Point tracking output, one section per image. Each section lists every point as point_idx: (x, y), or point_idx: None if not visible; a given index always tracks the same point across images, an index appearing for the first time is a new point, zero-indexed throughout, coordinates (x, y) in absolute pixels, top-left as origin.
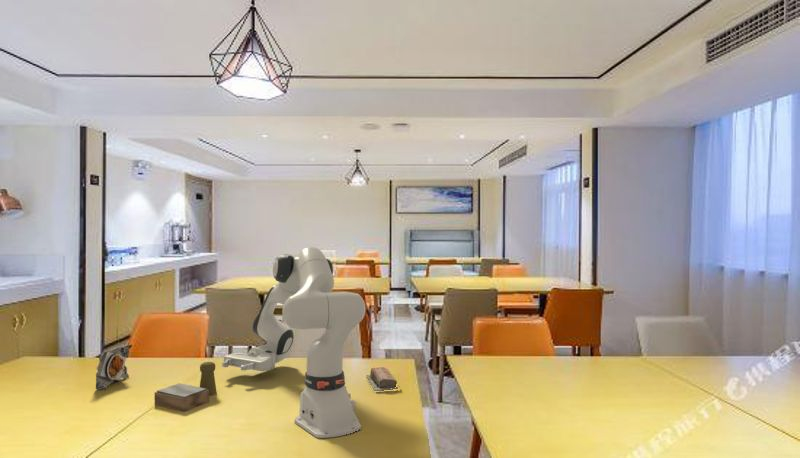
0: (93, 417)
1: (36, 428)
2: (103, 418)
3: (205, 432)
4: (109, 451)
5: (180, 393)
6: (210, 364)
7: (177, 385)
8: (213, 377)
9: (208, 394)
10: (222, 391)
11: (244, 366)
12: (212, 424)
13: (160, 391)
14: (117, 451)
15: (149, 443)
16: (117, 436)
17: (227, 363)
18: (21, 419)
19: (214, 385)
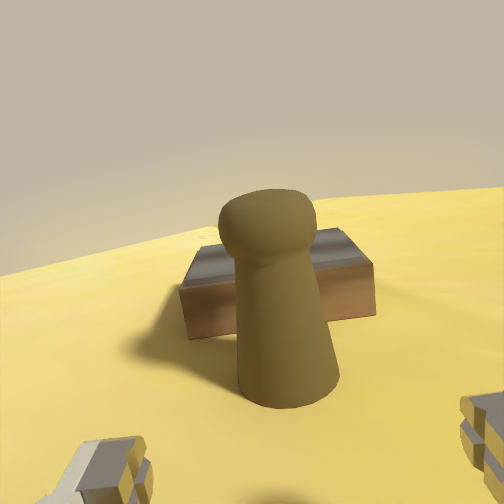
0: (371, 224)
1: (389, 202)
2: (346, 229)
3: (63, 283)
4: (192, 230)
5: None
6: (228, 202)
7: (336, 250)
8: (236, 294)
9: (183, 308)
10: (233, 427)
11: (81, 448)
12: (65, 297)
13: (320, 230)
14: (180, 233)
15: (151, 247)
16: None
17: (487, 442)
18: (465, 193)
19: (238, 342)
